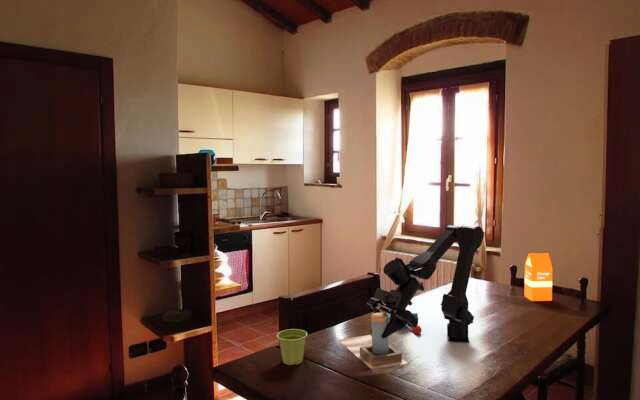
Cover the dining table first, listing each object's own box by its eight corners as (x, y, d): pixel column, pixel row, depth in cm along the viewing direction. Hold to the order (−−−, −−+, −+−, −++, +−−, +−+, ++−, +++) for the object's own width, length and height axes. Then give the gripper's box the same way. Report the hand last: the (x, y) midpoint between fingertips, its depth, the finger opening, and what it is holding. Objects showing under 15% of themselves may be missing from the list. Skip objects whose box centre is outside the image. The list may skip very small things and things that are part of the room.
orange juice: (552, 300, 207) (552, 254, 206) (531, 301, 207) (532, 255, 206) (543, 295, 215) (544, 251, 214) (524, 296, 215) (524, 251, 214)
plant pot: (296, 370, 142) (295, 341, 142) (271, 363, 147) (270, 336, 147) (313, 359, 150) (313, 332, 149) (289, 353, 155) (288, 327, 154)
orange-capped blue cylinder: (381, 349, 151) (381, 311, 150) (392, 354, 146) (391, 315, 145) (369, 352, 148) (368, 314, 147) (379, 358, 144) (378, 319, 143)
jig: (337, 342, 163) (337, 332, 163) (369, 337, 168) (369, 327, 167) (372, 373, 139) (372, 361, 139) (408, 366, 143) (408, 355, 143)
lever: (382, 336, 182) (413, 336, 167) (379, 317, 184) (409, 316, 168) (396, 332, 186) (428, 333, 171) (393, 314, 187) (424, 312, 172)
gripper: (371, 272, 155) (343, 312, 151) (410, 284, 140) (381, 329, 135) (390, 292, 160) (364, 331, 155) (430, 306, 144) (402, 350, 139)
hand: (376, 335), depth 146 cm, fingers closed on orange-capped blue cylinder, 5 cm apart
